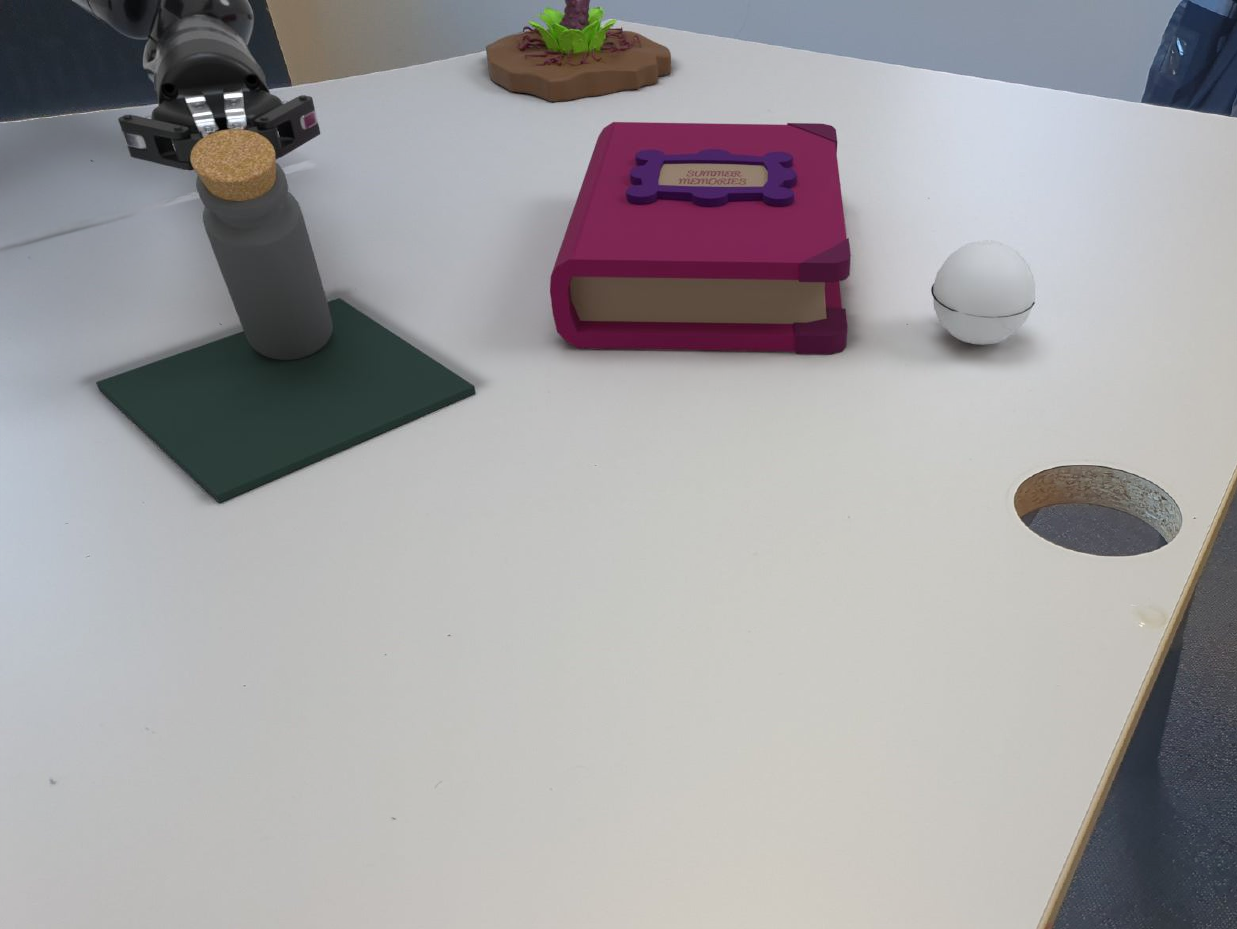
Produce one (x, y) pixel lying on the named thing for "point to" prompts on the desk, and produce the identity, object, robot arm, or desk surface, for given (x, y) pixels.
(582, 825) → the desk surface
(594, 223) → the book
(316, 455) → the mat
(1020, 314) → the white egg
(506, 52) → the plant
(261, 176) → the bottle
